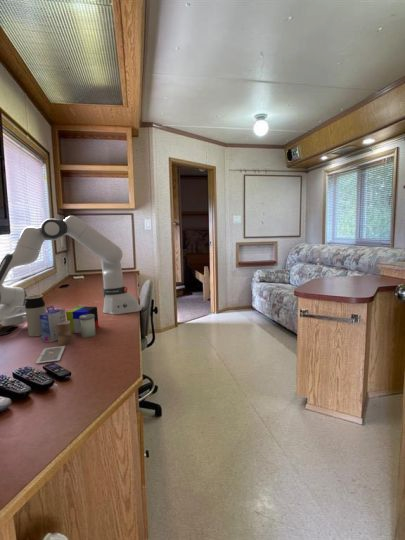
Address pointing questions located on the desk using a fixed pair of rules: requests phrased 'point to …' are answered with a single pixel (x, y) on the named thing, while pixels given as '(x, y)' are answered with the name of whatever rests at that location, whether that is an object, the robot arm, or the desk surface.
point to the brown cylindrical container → (64, 333)
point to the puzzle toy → (76, 313)
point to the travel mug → (34, 314)
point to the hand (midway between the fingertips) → (32, 318)
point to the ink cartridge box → (51, 323)
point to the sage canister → (87, 325)
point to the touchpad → (51, 354)
